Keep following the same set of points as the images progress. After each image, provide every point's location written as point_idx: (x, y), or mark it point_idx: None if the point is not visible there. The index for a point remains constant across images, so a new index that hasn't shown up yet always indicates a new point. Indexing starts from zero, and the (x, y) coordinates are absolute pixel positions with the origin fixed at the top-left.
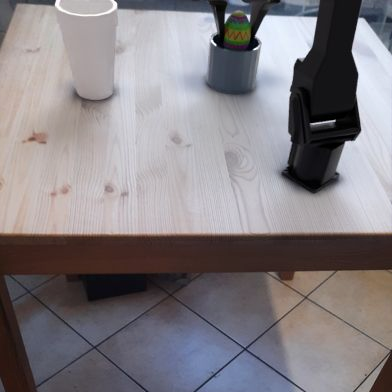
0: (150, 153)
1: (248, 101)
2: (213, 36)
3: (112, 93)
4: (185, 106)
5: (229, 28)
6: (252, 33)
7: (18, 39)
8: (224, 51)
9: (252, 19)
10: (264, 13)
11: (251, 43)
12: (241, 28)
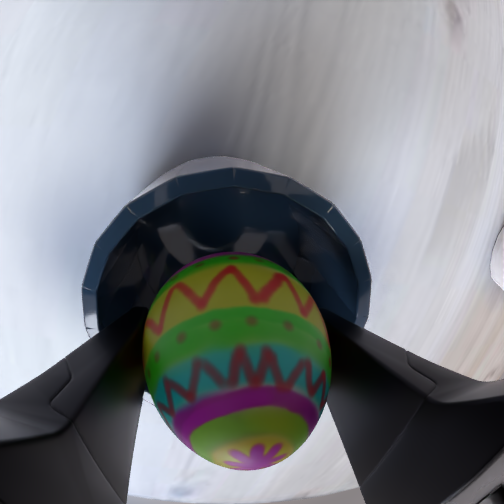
0: (487, 12)
1: (203, 100)
2: None
3: (499, 234)
4: (413, 129)
5: (325, 342)
6: (132, 329)
7: None
8: (344, 218)
9: (124, 414)
10: (22, 399)
11: None
12: (251, 318)
